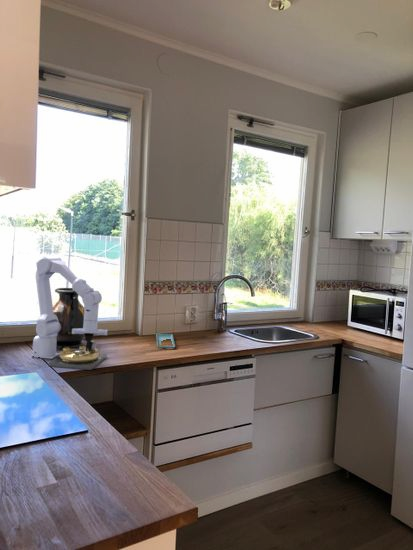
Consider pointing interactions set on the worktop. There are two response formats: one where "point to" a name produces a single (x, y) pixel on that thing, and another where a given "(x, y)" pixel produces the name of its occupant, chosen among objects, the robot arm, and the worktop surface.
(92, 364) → the base plate
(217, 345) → the worktop surface
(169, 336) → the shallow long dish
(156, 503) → the worktop surface
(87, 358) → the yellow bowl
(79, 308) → the amphora vase
